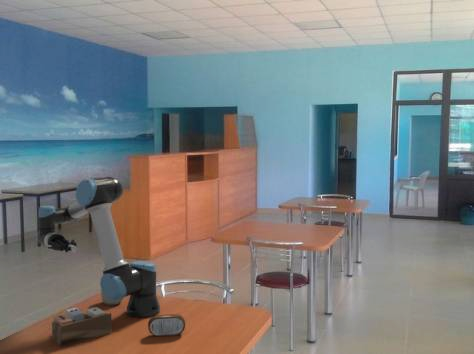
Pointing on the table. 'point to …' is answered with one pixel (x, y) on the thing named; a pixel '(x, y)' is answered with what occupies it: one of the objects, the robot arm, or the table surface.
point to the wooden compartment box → (82, 329)
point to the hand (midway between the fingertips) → (75, 250)
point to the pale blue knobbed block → (75, 314)
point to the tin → (166, 325)
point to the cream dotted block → (95, 312)
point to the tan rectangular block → (62, 320)
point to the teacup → (108, 300)
